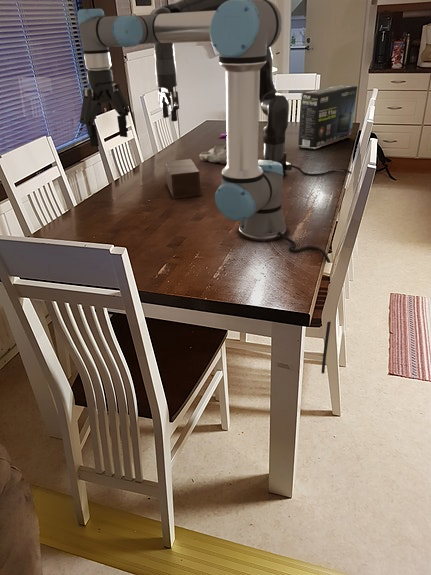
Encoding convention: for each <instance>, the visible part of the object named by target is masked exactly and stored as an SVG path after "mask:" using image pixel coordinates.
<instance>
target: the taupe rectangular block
mask: <svg viewBox="0 0 431 575" xmlns="http://www.w3.org/2000/svg"><path fill="white" fill-rule="evenodd" d="M164 166H165V179H166V185H167V188H168V190H169V191H170V192H169V193H170V195H171V196H172V199H174V200H175V199H182V198H192V197H193V198H194V197H201V196H202V194H201V176H200V170H199V169H198V167H197V166H196V164H195V163H194V161H193V160H192V159H191V158H188V159H179V160H168V161H164Z"/></svg>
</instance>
